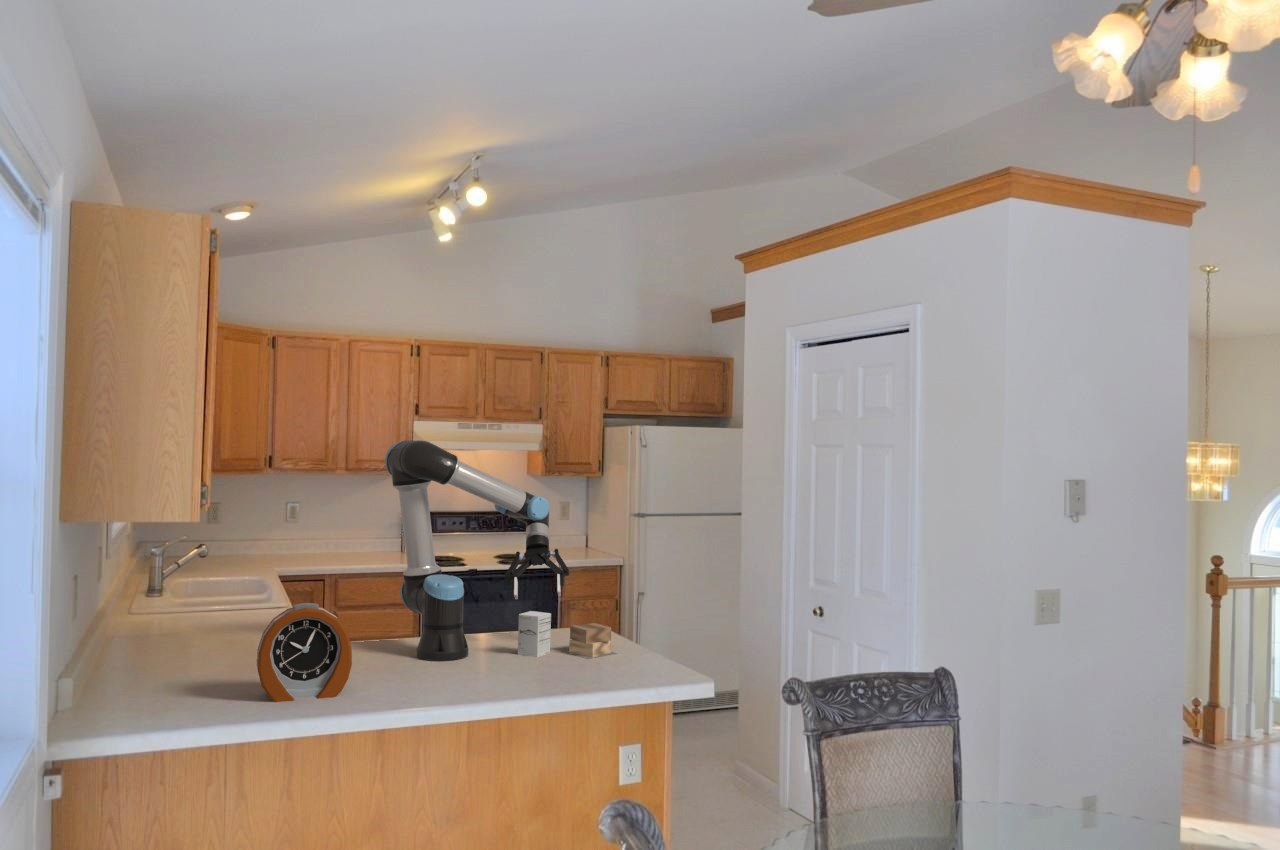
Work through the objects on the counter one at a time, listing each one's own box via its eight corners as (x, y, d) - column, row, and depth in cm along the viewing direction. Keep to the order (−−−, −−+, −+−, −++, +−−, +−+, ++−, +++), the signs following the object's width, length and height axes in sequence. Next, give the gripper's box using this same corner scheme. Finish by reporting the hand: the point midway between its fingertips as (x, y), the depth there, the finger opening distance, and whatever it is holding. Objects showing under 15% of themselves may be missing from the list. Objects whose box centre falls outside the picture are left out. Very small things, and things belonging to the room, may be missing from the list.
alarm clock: (257, 703, 232) (259, 609, 233) (255, 694, 241) (258, 603, 242) (352, 695, 241) (354, 604, 242) (347, 686, 250) (349, 598, 251)
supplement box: (516, 656, 290) (517, 613, 290) (530, 651, 297) (531, 610, 297) (537, 658, 287) (538, 616, 287) (551, 654, 293) (551, 612, 294)
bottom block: (592, 657, 288) (592, 643, 288) (569, 653, 293) (569, 640, 293) (611, 652, 295) (611, 639, 295) (588, 648, 300) (588, 635, 300)
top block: (586, 643, 288) (586, 630, 288) (570, 638, 295) (570, 625, 295) (611, 640, 293) (611, 627, 293) (594, 635, 300) (594, 622, 300)
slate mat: (588, 660, 285) (588, 658, 285) (562, 653, 294) (562, 652, 294) (618, 654, 294) (618, 653, 294) (592, 648, 302) (592, 647, 302)
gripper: (576, 543, 320) (578, 598, 306) (501, 549, 320) (499, 604, 306) (574, 530, 315) (576, 585, 301) (497, 536, 314) (496, 592, 300)
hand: (537, 595), depth 303 cm, fingers open, 13 cm apart
